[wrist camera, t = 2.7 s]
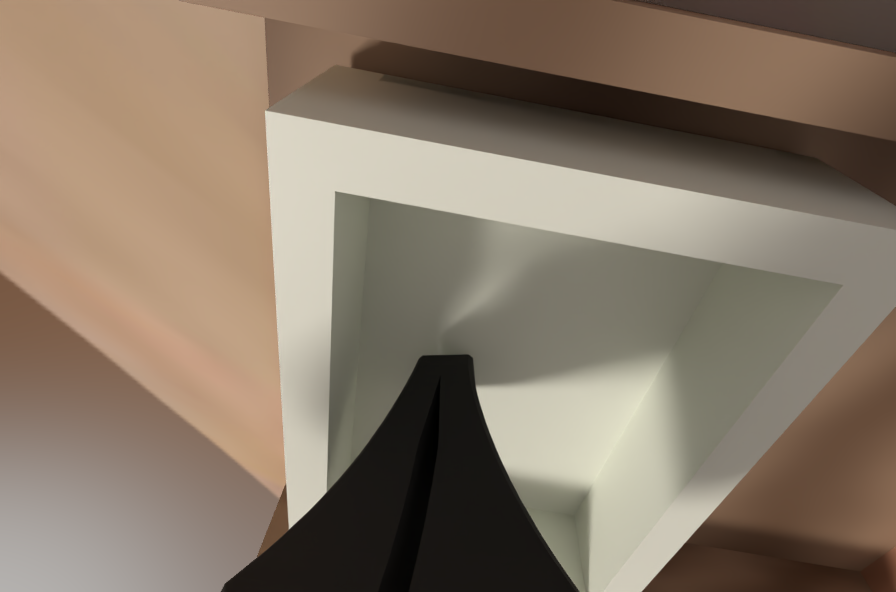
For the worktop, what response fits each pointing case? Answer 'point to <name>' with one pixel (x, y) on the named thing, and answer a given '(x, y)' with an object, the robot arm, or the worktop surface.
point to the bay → (702, 113)
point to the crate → (562, 298)
